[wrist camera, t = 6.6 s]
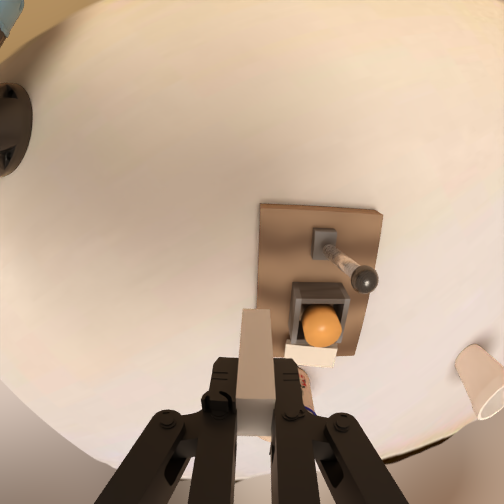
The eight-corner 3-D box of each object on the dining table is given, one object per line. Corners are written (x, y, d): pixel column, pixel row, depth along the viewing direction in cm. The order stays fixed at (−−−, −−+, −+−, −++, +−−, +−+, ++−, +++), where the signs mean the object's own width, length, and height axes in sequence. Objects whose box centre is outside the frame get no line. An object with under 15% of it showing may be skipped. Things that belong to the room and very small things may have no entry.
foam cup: (491, 342, 41) (524, 381, 29) (465, 377, 44) (492, 419, 32) (468, 333, 40) (505, 378, 28) (440, 372, 43) (468, 420, 31)
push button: (303, 302, 32) (307, 317, 29) (338, 302, 32) (344, 316, 29) (299, 331, 33) (302, 347, 30) (332, 331, 33) (338, 346, 30)
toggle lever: (317, 238, 30) (362, 273, 22) (337, 237, 30) (386, 270, 22) (314, 260, 30) (357, 300, 22) (335, 258, 31) (380, 297, 23)
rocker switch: (286, 339, 36) (285, 344, 35) (337, 344, 34) (337, 348, 33) (284, 358, 37) (283, 363, 36) (332, 362, 36) (332, 367, 35)
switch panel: (260, 203, 34) (260, 217, 28) (375, 210, 33) (397, 224, 27) (255, 345, 41) (254, 376, 34) (350, 344, 40) (361, 374, 34)
